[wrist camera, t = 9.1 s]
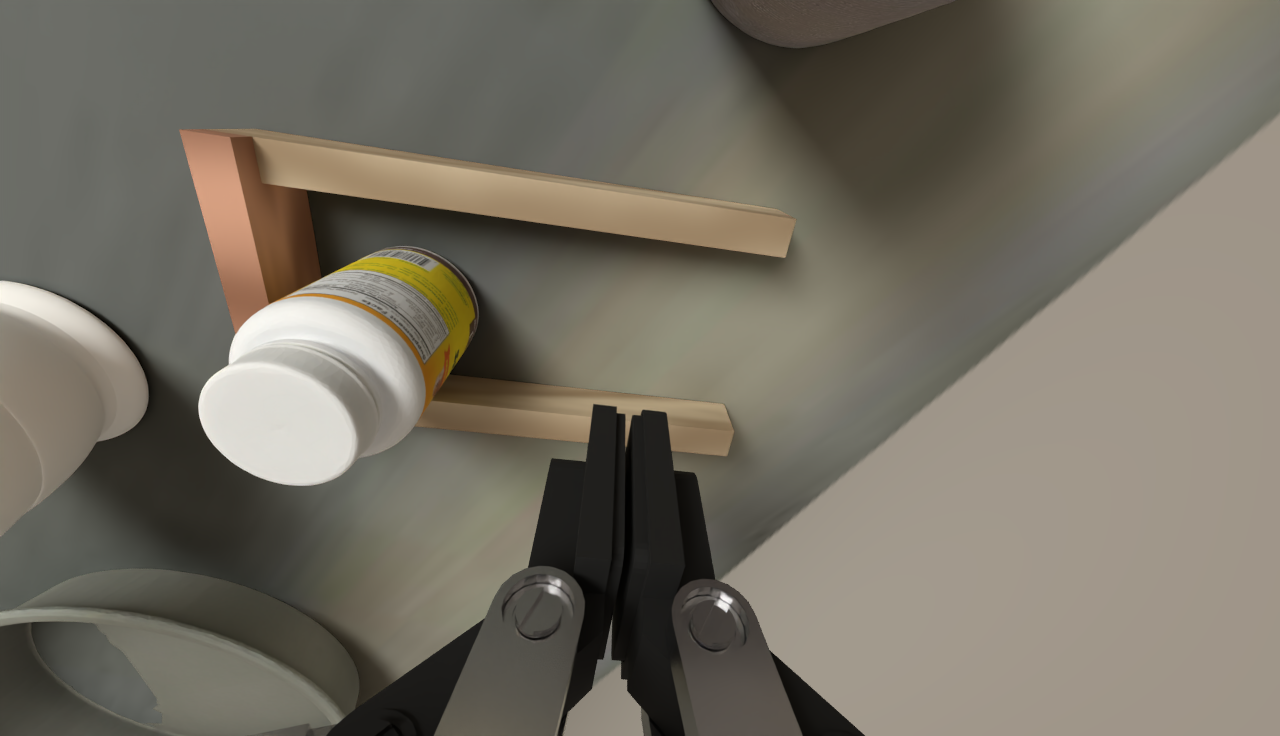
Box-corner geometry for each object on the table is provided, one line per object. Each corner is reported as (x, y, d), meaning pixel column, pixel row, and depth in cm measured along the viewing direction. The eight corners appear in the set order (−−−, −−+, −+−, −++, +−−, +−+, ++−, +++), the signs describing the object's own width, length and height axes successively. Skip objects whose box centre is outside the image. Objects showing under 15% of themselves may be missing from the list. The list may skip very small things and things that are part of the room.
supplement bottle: (415, 376, 23) (284, 535, 14) (330, 281, 21) (105, 398, 12) (507, 324, 22) (431, 459, 13) (429, 218, 20) (269, 291, 11)
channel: (255, 128, 18) (179, 129, 15) (776, 209, 20) (805, 224, 17) (309, 385, 23) (261, 425, 20) (717, 427, 25) (731, 469, 22)
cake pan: (75, 480, 26) (-26, 545, 22) (448, 658, 34) (426, 728, 30) (-47, 671, 33) (-139, 746, 29) (286, 778, 42) (251, 847, 38)
